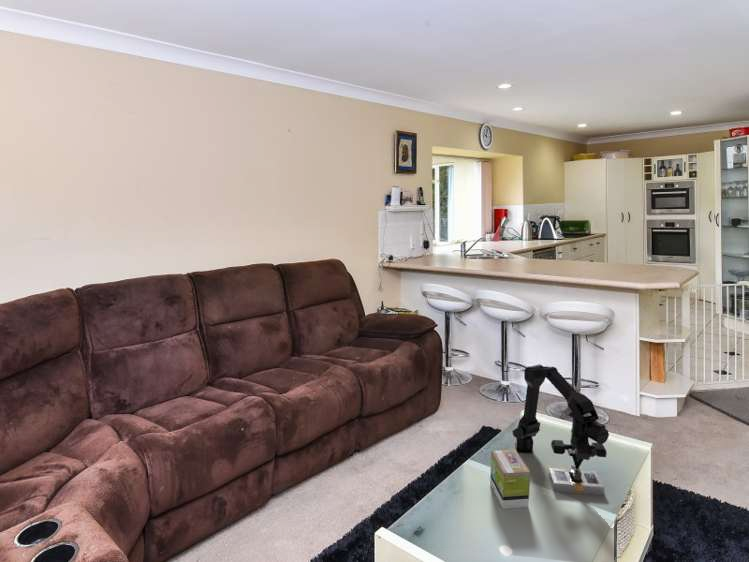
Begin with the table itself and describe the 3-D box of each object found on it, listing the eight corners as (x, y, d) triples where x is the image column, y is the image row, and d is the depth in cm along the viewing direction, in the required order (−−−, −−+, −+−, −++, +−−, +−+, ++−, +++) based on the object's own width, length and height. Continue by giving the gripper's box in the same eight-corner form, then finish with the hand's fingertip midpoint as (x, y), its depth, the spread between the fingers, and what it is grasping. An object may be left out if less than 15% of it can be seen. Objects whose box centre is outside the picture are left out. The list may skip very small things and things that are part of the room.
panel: (573, 487, 190) (574, 473, 189) (570, 479, 195) (571, 465, 194) (580, 487, 190) (581, 473, 189) (577, 480, 195) (578, 466, 194)
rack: (553, 491, 189) (554, 483, 188) (548, 475, 199) (548, 467, 198) (603, 496, 186) (604, 487, 186) (596, 479, 196) (596, 471, 196)
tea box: (488, 484, 194) (490, 449, 191) (514, 482, 195) (516, 448, 192) (501, 509, 179) (504, 472, 176) (529, 508, 180) (531, 471, 177)
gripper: (558, 440, 182) (555, 478, 185) (613, 444, 179) (608, 483, 182) (552, 425, 192) (549, 462, 196) (603, 428, 190) (600, 465, 193)
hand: (576, 468), depth 191 cm, fingers closed
